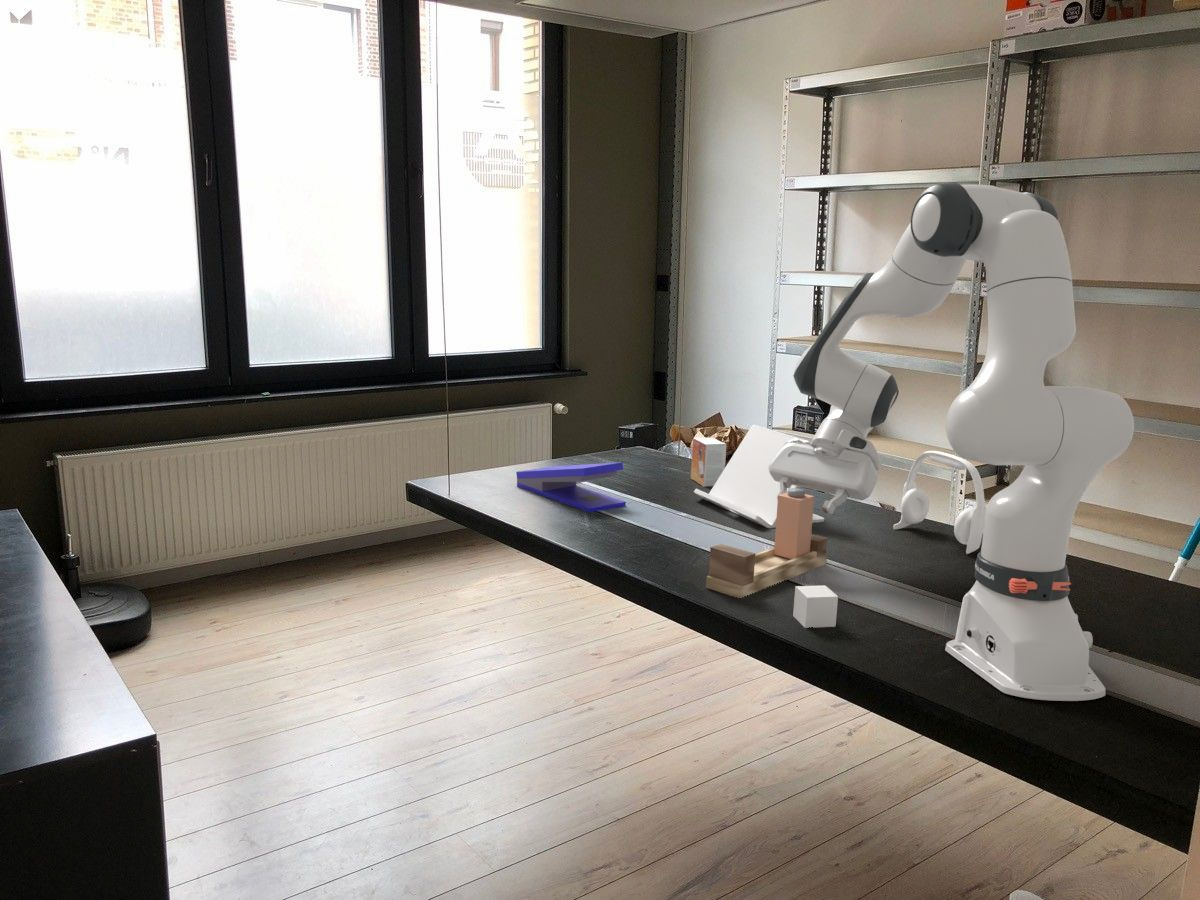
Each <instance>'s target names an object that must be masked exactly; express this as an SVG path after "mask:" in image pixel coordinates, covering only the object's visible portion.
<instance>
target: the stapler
mask: <svg viewBox="0 0 1200 900" xmlns="http://www.w3.org/2000/svg"><path fill="white" fill-rule="evenodd" d="M622 470H624V464H623V461H622V462H621V461H620V462H605V463H587V464H574V465H573V464H571V465H570V464H569V465H553V466H552V465H551V466H547V467H546V466H545V467H539V468H532V469H526V470H520V471H519V470H518V471H516V487H518V488H521V489H524V490H526V491H529V492H532V493H535V494H537V495H541V496H544V497H546V498H549V499H552V500H554V501H557V502H560V503H563V504H565V505H568V506H571V507H575V508H577V509H579V510H582V511H585V512H588V513H590V514H592V513H596V512H601V511H607V510H611V509H617V508H621V507H622V508H623V507H626V505H627V504H626V501H624V500H621V499H618V498H615V497H613V496H609V495H607V494H603V493H600V492H598V491H594V490H592V489H588V488H585V487H584V486H583V487H582V486H579V485H577V482H587V481H593V480H597V479H599V480H600V479H606V478H610V477H617V475H618V474H617V472H618V471H622Z"/></svg>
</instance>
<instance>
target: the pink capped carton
mask: <svg viewBox="0 0 1200 900" xmlns="http://www.w3.org/2000/svg"><path fill="white" fill-rule="evenodd" d="M814 504H815V495H810V494H808V493H807V494H806V490H805V489H802V488H799V489H798V488H790V489H788V493H784V494H781V495H778V503H777V517H776V527H775V535H774V554H775V555H779V556H782V557H786V558H789V559H794V558H797V557H799V556H802V555H805V554H807V553H810V544H811V534H812V530H813V529H812V527H813V523H812V518H813V514H814Z"/></svg>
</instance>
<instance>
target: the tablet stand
mask: <svg viewBox="0 0 1200 900" xmlns="http://www.w3.org/2000/svg"><path fill="white" fill-rule="evenodd" d="M794 439H800V440H803V441H809V440H807V439H804V438H801V437H798V436H794V435H790V434H787V433H784V432H781V431H779V430H774V429H771V428H768V427H764V426H761V425H757V424H752V425H751V426H750V428H749V429H748V431H747V432H746V434H745V435H744V437H743V439H742V440H741V442H740V443H739V445H738V447H737V449H736V450H735V451H734V453H733V454H732V456H731V458H730V459H729V461H728V462H727V464H726V465H725V469H724V470H723V472H722V474H721V475H720V477H719V478H718V480H717V482H716V483H715V485H714V486H712V488H711V490H710V491H709V492H708V493H707V492H705V491H703V490H700V489H699V488H695V489H694V491H693V493H694V494H696V495H697V496H699V497H700V498H702V499H703V500H705V501H707V502H710V503H712V504H714V505H716V506H718V507H720V508H722V509H725V510H727V511H730V512H732V513H733V514H736V515H738V516H741V517H743V518H745V519H747V520H749V521H751V522H754V523H755V524H758V525H760V526H762V527H765V528H767V529H773V528H775V529H776V517H777V503H778V499H777V496H778V494H779V492H780V482H777V481H775V480H774V479H773V478H772V476H771V474H770V472H769V469H768V467H769V465H770V463H771V462H772V460H773V459H774V457H775V456H776V455H777V453H778V452H779V451H780V449H781V448H782V447H783V445H784V444H785V443H786V442H788V441H792V440H794ZM790 488H798V489H800V486H795V485H791V487H790ZM790 488H787V492H788V489H790ZM823 522H825V517H823V516H820V515H818V514H815V513H813V518H812V524H815V523H823Z"/></svg>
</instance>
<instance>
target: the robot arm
mask: <svg viewBox="0 0 1200 900" xmlns="http://www.w3.org/2000/svg"><path fill="white" fill-rule="evenodd" d="M967 260H968V261H973V262H977V263H983V264H984V269H985V283H986V300H987V301H986V303H987V304H986V305H987V346H986V348H987V349H986V353H985V357H984V360H983V363H982V366H981V368H980V370H979V372H978V374H977V375H976V377H975V378H974V380H973V381H972V382H971V384H970V385H969V386H968V387H966V389H964V390H963V391H961V392H960V393H959V394H958V395H957V396H956V397H955V398H954V400H953V401H952V403H951V404H950V407H949V408H948V411H947V413H946V418H945V432H946V437H947V439H948V442H949V445H950V447H951V448H952V450H953V451H954V453H955V454H956V455H958V457H960V458H962V459H965V460H967V461H971V462H975V463H976V462H977V463H980V464H987V465H992V466H1024V467H1023V468H1022V471H1021V473H1020V474H1019V475H1018V476H1017V478H1016V479H1015V480H1014V481H1013V482H1012V483H1011V484H1009V485H1008V486H1006V487H1005V488H1003V489H1001V490H999V491H998V492H996V493H995V494H994V495H993V496H992V497H991V498H990V500H989V501H988V503H987V505H986V506H985V507H986V513H985V522H984V529H983V534H982V539H981V546H980V547H981V548H980V549H981V550H980V551H979V552H978V553H977V557H976V560H975V564H974V578H975V580H976V581H975V583H974V584H973V586H972V587H971V588H970V590H968V591H967V592H966V593H965V595H964V596H963V597H962V602H961V608H960V611H959V618H958V623H957V627H956V631H955V638H954V639H952V640H948V641H947V642H946V643H945V649H944V650H945V652H947V653H948V654H950V656H952V657H953V658H955V659H956V660H957V661H959V662H961V663H962V664H963V665H965V666H966V667H967V668H968V669H970V670H971V671H973V672H974V673H975V674H976V675H978V676H980V677H981V678H982V679H984V681H986V682H988V683H989V684H990V685H992V686H993V687H994V688H996V689H997V690H999V691H1000V692H1002V693H1003V694H1006V695H1009V696H1012V697H1013V696H1015V697H1019V698H1024V699H1029V700H1031V699H1032V700H1040V701H1054V702H1055V701H1056V702H1057V701H1058V702H1059V701H1060V702H1061V701H1062V702H1079V701H1080V702H1081V701H1091V700H1096V699H1100V698H1103V697H1105V696H1106V687H1105V686H1104V684H1103V683H1102V682H1101V680H1100V679H1099V677H1098V676H1097V675H1096V674H1095V672H1094V671H1093V669H1092V668H1091V666H1090V665H1089V664H1090V663H1089V661H1090V649H1091V648H1092V646H1093V642H1094V641H1093V640H1094V639H1093V638H1094V637H1093V635H1092V632H1090V631H1085V630H1083V629H1082V627H1081V625H1080V623H1079V616H1078V614H1077V613H1075V611H1074V609H1073V607H1072V604H1071V603H1070V599H1069V597H1068V596H1069V595H1070V591H1071V588H1070V585H1072V582H1070V575H1069V570H1068V568H1069V567H1068V565H1067V564H1066V558H1067V553H1068V546H1069V540H1070V536H1071V530H1072V526H1073V525H1072V524H1073V520H1074V516H1075V513H1076V510H1077V508H1078V506H1079V503H1080V501H1081V500H1082V497H1083V496H1084V493H1085V492H1086V490H1087V489H1088V487H1089V486H1090V485H1091V483H1092V482H1093V480H1094V479H1095V478H1096V476H1097V475H1098V474H1099V473H1100V472H1101V471H1102V470H1104V468H1105V467H1107V466H1108V465H1109V464H1110V463H1112V462H1113V461H1114V460H1116V459H1117V458H1120V456H1122V454H1124V453H1125V452H1126V450H1127V449H1128V447H1129V446H1130V444H1131V441H1132V439H1133V436H1134V430H1135V421H1134V419H1135V418H1134V415H1133V413H1132V409H1131V407H1130V406H1129V404H1128V403H1127V401H1126V399H1125V398H1124V397H1122V396H1121V395H1119V394H1117V393H1116V392H1111V391H1107V390H1103V389H1099V388H1094V387H1090V386H1083V385H1080V386H1079V385H1076V386H1075V385H1045V382H1044V376H1045V370H1046V366H1047V364H1048V362H1049V361H1050V360H1052V359H1055V358H1056V357H1057V356H1060V355H1061V354H1062V353H1063V352H1065V351H1066V350H1067V349H1068V348H1069V347H1070V346H1071V345H1072V342H1074V340H1075V337H1076V333H1077V326H1076V324H1077V323H1076V313H1075V302H1074V301H1075V300H1074V288H1073V287H1074V285H1073V274H1072V268H1071V262H1070V256H1069V251H1068V247H1067V242H1066V240H1065V236H1064V232H1063V230H1062V227H1061V224H1060V222H1059V217H1058V213H1057V210H1056V208H1055V206H1054V205H1053V203H1052V202H1051V201H1050V200H1049V199H1047V198H1045V197H1043V196H1041V195H1039V194H1035V193H1033V192H1029V191H1028V192H1027V191H1024V192H1022V191H1021V192H1020V191H1017V190H1014V189H1008V188H1003V187H998V186H995V185H989V184H968V183H967V184H965V183H964V184H960V183H958V182H945V183H937V184H935V185H930V186H929V187H928V188H926V189H925V190H924V191H923V192H922V193H921V194H920V195H919V197H918V198H917V200H916V202H915V203H914V205H913V208H912V211H911V216H910V223H909V224H908V225H907V227H906V229H905V230H904V232H903V234H902V235H901V236H900V239H899V240H898V242H897V244H896V246H895V249H894V250H893V252H892V255H891V257H890V258H889V260H888V262H887V263H886V264H885V265H884V266H883V267H882V268H880V269H879V270H877V271H875V272H867V273H865V274H864V275H862V276H861V277H860V278H859V279H858V280H857V281H856V282H855V283H854V285H853V286H852V288H851V289H850V291H848V294H847V295H846V296H845V297H844V299H842V301H841V302H840V304H839V305H838V307H837V308H836V310H835V311H834V313H833V314H832V315H831V317H830V318H829V320H828V321H827V323H826V324H825V325H824V327H823V329H821V332H820V334H819V335H818V336H817V338H816V339H815V340H814V341H813V343H812V344H810V346H808V347H807V349H806V350H805V351H804V352H803V353H802V354H801V356H800V357H799V359H798V361H796V362H797V363H796V365H795V367H794V372H793V375H792V376H793V380H794V382H795V385H796V386H797V389H798V391H799V392H800V394H803V395H805V396H808V397H811V398H813V399H816V400H820V401H822V402H825V403H827V404H829V405H830V409H829V413H828V415H827V417H825V418H824V419H823V420H822V422H821V423H820V425H819V426H818V429H817V431H816V432H815V434H814V436H813V437H812V439H811V441H810V440H808V441H803V440H800V439H794V440H792V441H788V442H786V443H785V444H784V445H783V447H782V448H781V449H780V451H779V452H778V453H777V455H776V456H775V457H774V459H773V460H772V462H771V463H770V465H769V467H768V469H769V472H770V474H771V476H772V478H773V479H774V480H775V481H777V482H780V492H779V494H778V495H781V494H784V493H788V492H787V488H790V487H791V485H795V486H800V487H801V488H805V489H809V490H814V491H819V492H824V493H828V494H831V495H834V496H833V498H831V499H829V500H827V499H825V501H824V502H823V504H822V506H821V510H822V511H823V513H825V514H828V515H833V513H834V511H835V510H836V508H838V507H839V506H841V505H842V504H843V503H845V502H846V501H847V499H848V498H850V499H854V500H859V501H865V500H867V499H868V498H869V497H871V494H872V493H873V491H874V488H875V486H876V484H877V481H878V477H879V473H878V471H879V470H880V469H881V468H882V465H883V463H882V459H881V457H880V455H879V452H878V450H877V449H876V447H875V445H874V444H873V442H872V441H870V440H868V439H867V436H868V434H869V433H870V432H871V431H872V430H873V429H874V428H875V427H877V426H880V425H881V424H883V423H885V421H886V420H887V416H888V413H889V412H890V410H891V408H892V407H893V406H894V404H895V403H896V400H897V399H898V396H899V387H898V384H897V383H898V382H897V381H896V378H895V377H894V375H893V374H891V373H890V372H889V371H887V370H885V369H882V368H880V367H878V366H876V365H874V364H871V363H869V362H867V361H864V360H862V359H860V358H857V357H855V356H854V355H852V354H849V353H847V352H845V351H843V350H842V348H840V346H839V345H840V344H841V342H842V341H843V340H844V338H845V337H846V335H847V334H848V333H849V331H851V330H850V329H852V328H853V325H854V324H855V322H857V321H858V320H859V319H861V318H864V317H870V316H871V317H872V316H879V317H880V316H881V317H882V316H885V317H893V318H894V317H896V318H916V317H920V316H924V315H927V314H930V313H931V312H933V311H935V310H936V309H938V308H939V307H941V305H943V303H944V301H945V300H946V298H947V297H948V295H950V292H951V291H952V289H953V287H954V285H955V284H956V282H957V280H958V278H959V276H960V273H961V272H962V269H963V266H964V265H965V263H966V261H967ZM800 487H799V488H800ZM777 499H778V496H777Z"/></svg>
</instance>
